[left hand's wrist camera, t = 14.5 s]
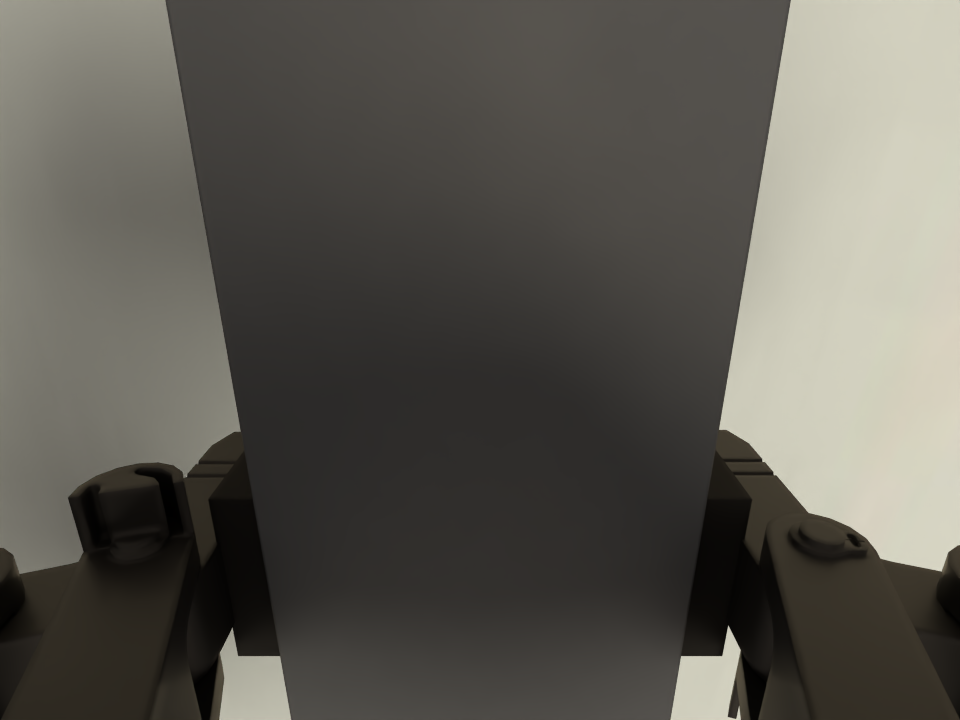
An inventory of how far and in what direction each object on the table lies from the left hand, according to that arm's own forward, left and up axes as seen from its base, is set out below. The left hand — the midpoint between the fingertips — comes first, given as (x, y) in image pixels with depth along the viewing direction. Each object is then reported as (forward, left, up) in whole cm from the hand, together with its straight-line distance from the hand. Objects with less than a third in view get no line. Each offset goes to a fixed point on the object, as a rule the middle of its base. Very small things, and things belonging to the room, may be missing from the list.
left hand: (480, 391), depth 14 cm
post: (+28, -20, -1) cm, 34 cm away
